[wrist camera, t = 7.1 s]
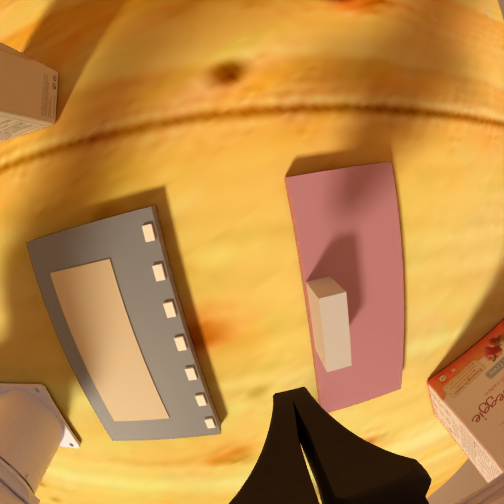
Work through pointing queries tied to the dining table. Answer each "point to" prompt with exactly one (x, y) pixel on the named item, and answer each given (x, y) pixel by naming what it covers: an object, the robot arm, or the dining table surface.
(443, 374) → the cracker box
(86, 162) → the dining table surface
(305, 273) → the pink board with handle
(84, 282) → the ticket
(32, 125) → the skincare box
